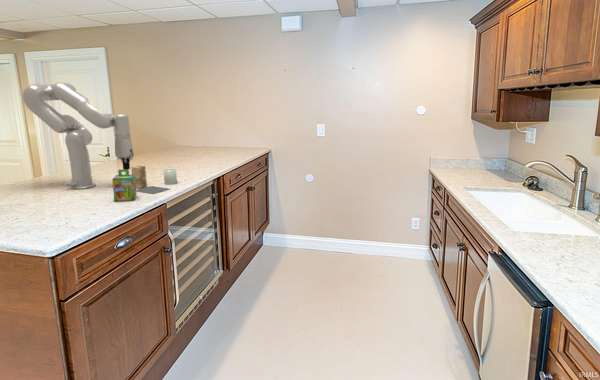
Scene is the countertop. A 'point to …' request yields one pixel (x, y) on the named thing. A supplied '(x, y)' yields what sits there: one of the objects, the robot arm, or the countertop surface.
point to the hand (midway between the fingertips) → (126, 169)
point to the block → (139, 176)
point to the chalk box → (124, 186)
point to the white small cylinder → (170, 176)
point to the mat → (152, 190)
